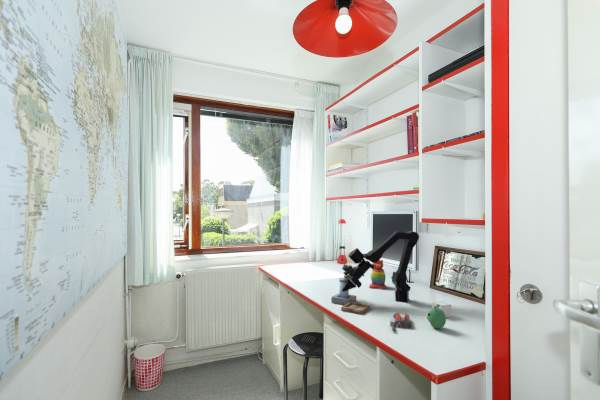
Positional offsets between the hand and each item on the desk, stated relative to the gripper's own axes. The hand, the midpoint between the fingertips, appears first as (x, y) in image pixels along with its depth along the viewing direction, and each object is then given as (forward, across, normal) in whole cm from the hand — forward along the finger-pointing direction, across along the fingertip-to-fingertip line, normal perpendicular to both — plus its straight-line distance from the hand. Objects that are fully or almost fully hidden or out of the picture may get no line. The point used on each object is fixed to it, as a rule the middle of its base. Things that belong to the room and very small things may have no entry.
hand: (341, 289), depth 177 cm
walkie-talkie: (-8, +37, +18) cm, 42 cm away
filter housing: (+4, 0, +6) cm, 7 cm away
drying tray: (+2, +14, +8) cm, 16 cm away
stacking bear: (-18, -31, +27) cm, 45 cm away
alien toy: (-18, +42, +28) cm, 53 cm away
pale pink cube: (-26, +26, +36) cm, 51 cm away
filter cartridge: (+4, 0, +6) cm, 7 cm away
